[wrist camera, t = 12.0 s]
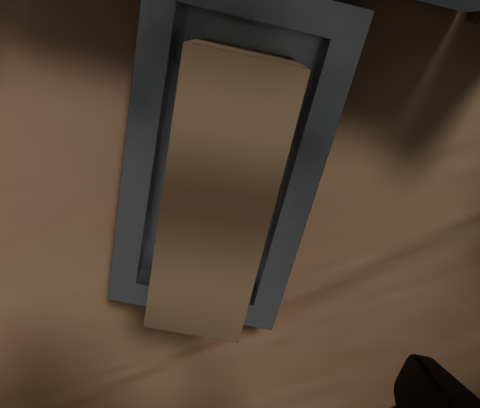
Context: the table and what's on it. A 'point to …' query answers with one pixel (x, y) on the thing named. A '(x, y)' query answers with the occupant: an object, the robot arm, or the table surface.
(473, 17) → the door frame
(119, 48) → the table surface
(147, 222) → the keeper cradle
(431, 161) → the table surface
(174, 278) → the bar
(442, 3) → the door
